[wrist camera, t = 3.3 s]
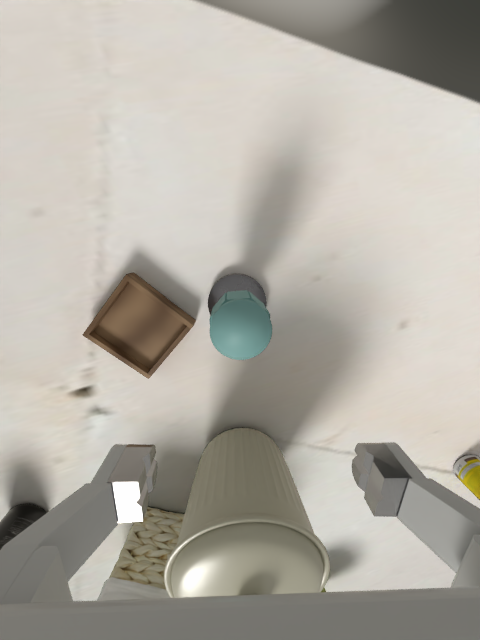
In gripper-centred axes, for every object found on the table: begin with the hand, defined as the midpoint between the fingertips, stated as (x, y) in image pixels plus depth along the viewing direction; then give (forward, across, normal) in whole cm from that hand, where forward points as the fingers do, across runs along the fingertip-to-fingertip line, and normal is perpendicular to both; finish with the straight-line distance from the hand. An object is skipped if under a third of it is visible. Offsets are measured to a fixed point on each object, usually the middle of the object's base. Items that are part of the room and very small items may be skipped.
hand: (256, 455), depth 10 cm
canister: (+26, +1, -26) cm, 37 cm away
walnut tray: (+25, -13, -3) cm, 29 cm away
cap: (+18, 0, 0) cm, 18 cm away
